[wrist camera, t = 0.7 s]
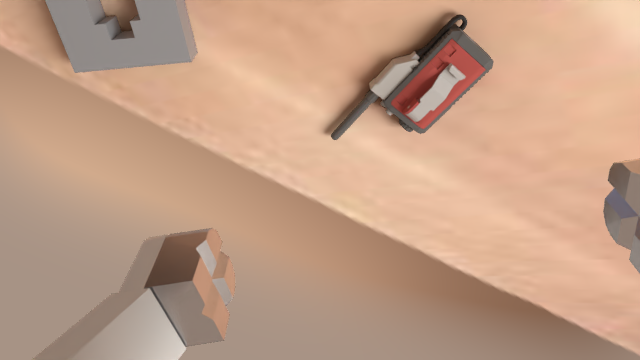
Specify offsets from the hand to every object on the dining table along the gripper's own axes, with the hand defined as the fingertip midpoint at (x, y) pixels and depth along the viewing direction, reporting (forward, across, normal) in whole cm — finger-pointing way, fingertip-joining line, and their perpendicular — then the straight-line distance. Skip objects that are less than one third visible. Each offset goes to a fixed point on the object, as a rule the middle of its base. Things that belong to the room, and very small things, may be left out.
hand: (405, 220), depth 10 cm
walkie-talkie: (+44, -4, +18) cm, 48 cm away
